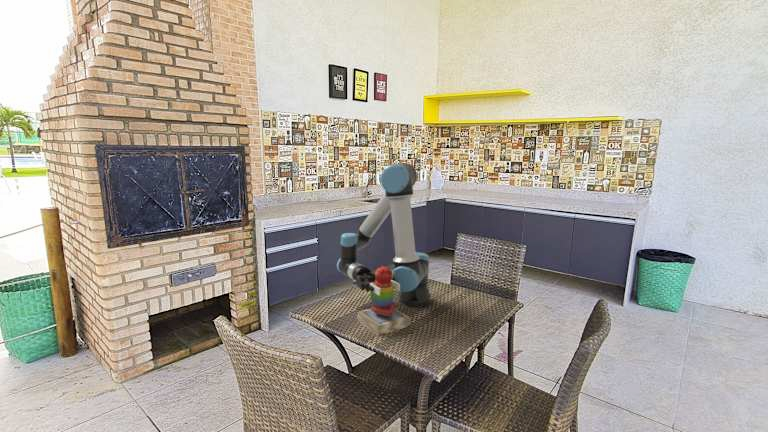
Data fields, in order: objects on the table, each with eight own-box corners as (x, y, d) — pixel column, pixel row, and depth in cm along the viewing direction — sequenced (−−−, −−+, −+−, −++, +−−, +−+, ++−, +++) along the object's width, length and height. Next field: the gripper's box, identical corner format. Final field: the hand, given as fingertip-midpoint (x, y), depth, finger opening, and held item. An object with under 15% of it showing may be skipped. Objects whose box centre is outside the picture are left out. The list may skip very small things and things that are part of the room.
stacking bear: (392, 316, 148) (394, 272, 145) (367, 313, 150) (368, 270, 147) (397, 305, 158) (399, 264, 155) (373, 303, 160) (374, 262, 157)
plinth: (386, 312, 165) (387, 303, 165) (408, 326, 154) (409, 316, 153) (357, 320, 157) (357, 310, 156) (378, 335, 145) (378, 325, 144)
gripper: (379, 277, 173) (410, 293, 155) (337, 286, 161) (366, 304, 143) (380, 261, 172) (411, 275, 154) (337, 269, 160) (366, 285, 142)
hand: (389, 289), depth 148 cm, fingers closed on stacking bear, 9 cm apart
